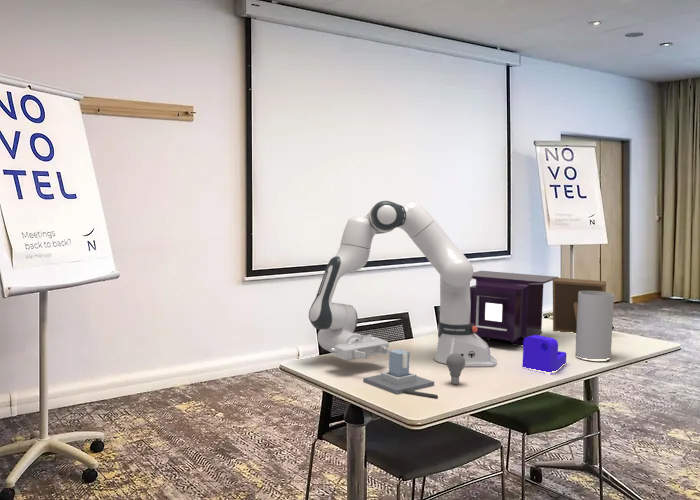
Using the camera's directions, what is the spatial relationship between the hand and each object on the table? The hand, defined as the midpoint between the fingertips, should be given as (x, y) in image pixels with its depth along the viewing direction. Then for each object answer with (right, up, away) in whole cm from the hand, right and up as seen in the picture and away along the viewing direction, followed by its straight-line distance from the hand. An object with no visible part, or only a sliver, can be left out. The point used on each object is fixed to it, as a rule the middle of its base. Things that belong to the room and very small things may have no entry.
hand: (377, 353), depth 206 cm
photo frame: (+92, -4, +71) cm, 116 cm away
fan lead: (+12, -9, -19) cm, 25 cm away
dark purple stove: (+57, -4, +58) cm, 81 cm away
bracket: (+63, -8, +16) cm, 65 cm away
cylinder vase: (+83, -7, +30) cm, 89 cm away
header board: (+7, -8, -8) cm, 13 cm away
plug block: (+7, -7, -8) cm, 12 cm away
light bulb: (+25, -9, -7) cm, 27 cm away
